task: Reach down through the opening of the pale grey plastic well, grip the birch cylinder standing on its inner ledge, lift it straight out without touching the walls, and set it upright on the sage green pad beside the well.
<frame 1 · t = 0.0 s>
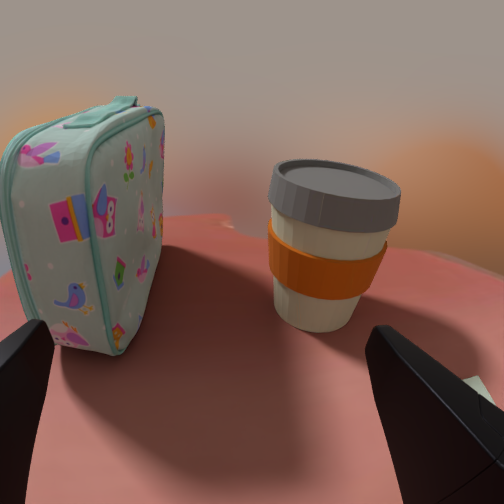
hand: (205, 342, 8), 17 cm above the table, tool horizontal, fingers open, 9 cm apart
reusable coffee cup: (312, 306, 36), on the table
lunch box: (115, 288, 36), on the table
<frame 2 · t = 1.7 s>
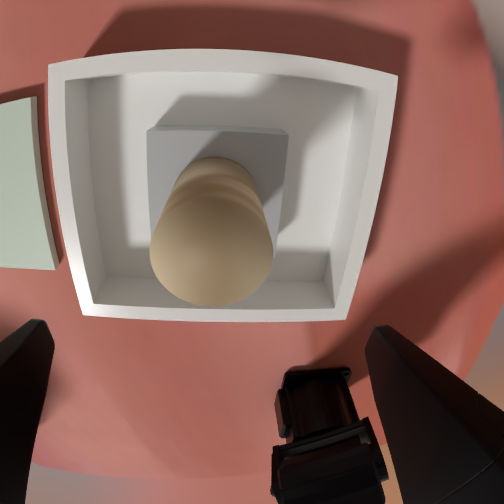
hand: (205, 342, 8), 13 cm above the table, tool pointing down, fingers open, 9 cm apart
birch cylinder: (214, 197, 17), point 3 cm above the table, touching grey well
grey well: (215, 182, 19), on the table
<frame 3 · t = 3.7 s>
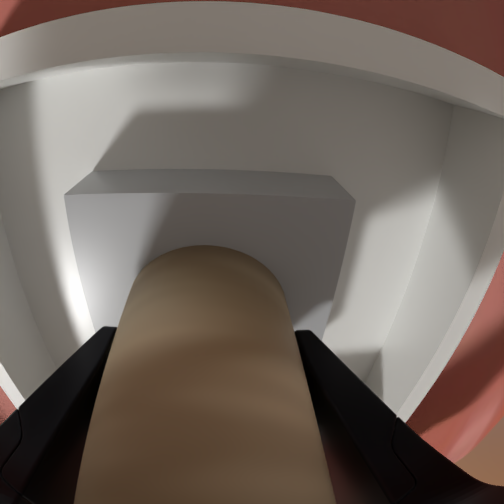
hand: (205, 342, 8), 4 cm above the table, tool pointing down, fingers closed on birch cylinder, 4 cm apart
birch cylinder: (206, 315, 9), point 3 cm above the table, touching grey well, gripper
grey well: (209, 265, 11), on the table
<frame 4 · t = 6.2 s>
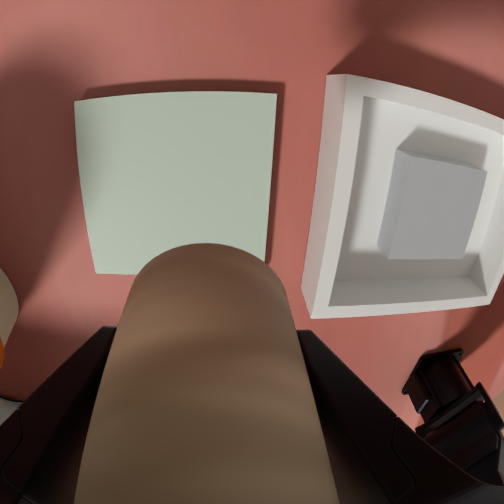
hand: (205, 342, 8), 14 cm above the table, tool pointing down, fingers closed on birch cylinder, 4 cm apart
green pad: (172, 187, 20), on the table
birch cylinder: (207, 314, 9), point 13 cm above the table, touching gripper
lunch box: (42, 419, 33), on the table
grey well: (423, 199, 21), on the table
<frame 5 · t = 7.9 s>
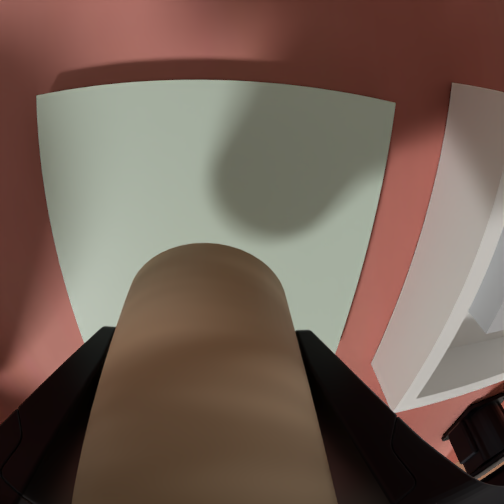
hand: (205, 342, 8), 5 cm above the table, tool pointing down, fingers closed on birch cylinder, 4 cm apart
green pad: (208, 244, 12), on the table
birch cylinder: (206, 314, 9), point 4 cm above the table, touching gripper
when the fingers open (4 cm above the table, at t = 8.9 s): birch cylinder drops 2 cm, point 1 cm above the table.
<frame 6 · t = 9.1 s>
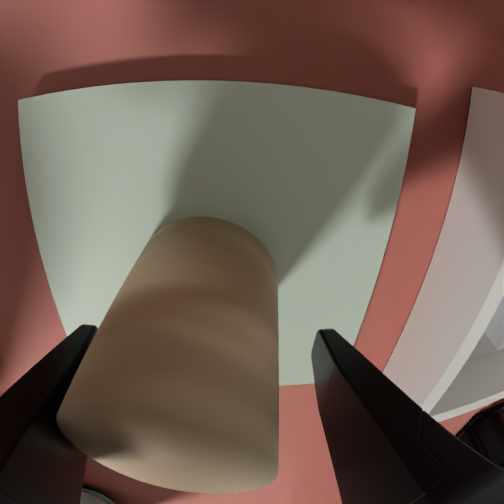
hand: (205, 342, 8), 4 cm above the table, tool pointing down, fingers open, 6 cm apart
green pad: (208, 262, 11), on the table
birch cylinder: (207, 280, 10), point 1 cm above the table, tilted 8°, touching gripper
lunch box: (35, 476, 25), on the table
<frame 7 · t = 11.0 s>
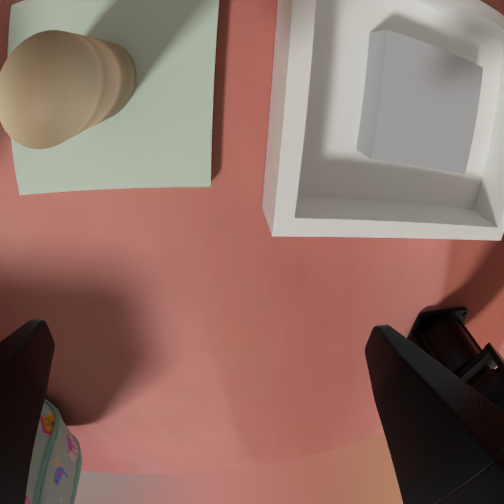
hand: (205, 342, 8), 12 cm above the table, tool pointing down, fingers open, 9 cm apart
green pad: (102, 81, 14), on the table
birch cylinder: (96, 81, 13), point 1 cm above the table, touching green pad
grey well: (409, 100, 16), on the table
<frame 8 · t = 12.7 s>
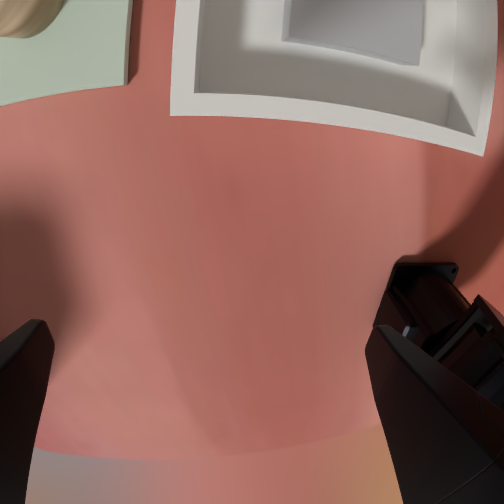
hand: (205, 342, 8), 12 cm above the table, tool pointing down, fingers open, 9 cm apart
green pad: (41, 6, 11), on the table
birch cylinder: (34, 4, 10), point 1 cm above the table, touching green pad
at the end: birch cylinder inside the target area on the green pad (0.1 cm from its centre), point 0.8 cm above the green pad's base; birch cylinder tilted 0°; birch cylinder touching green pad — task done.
